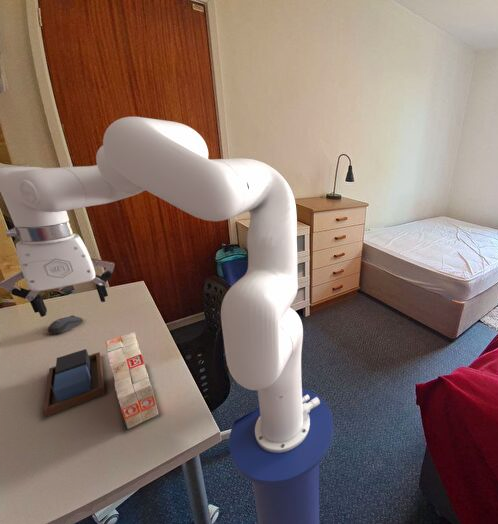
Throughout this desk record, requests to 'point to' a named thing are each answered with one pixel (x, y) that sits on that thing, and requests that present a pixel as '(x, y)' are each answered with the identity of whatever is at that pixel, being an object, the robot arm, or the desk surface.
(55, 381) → the blue block
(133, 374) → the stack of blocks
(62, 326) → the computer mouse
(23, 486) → the desk surface
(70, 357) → the seated pad
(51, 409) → the pad tray
